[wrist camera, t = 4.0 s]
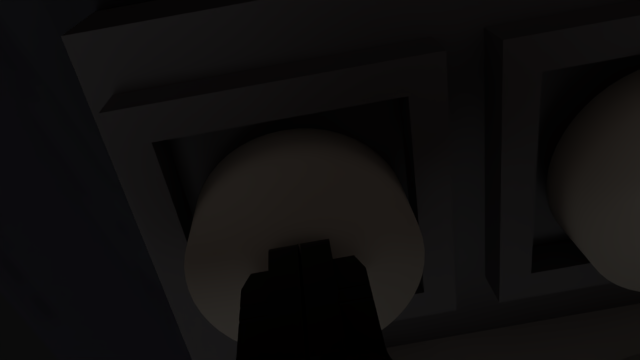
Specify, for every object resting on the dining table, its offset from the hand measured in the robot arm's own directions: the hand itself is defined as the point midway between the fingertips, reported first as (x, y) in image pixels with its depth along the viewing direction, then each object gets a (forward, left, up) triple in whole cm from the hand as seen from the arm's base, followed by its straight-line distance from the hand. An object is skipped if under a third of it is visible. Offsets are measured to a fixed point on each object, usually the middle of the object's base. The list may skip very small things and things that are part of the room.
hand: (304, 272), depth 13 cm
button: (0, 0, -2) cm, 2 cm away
